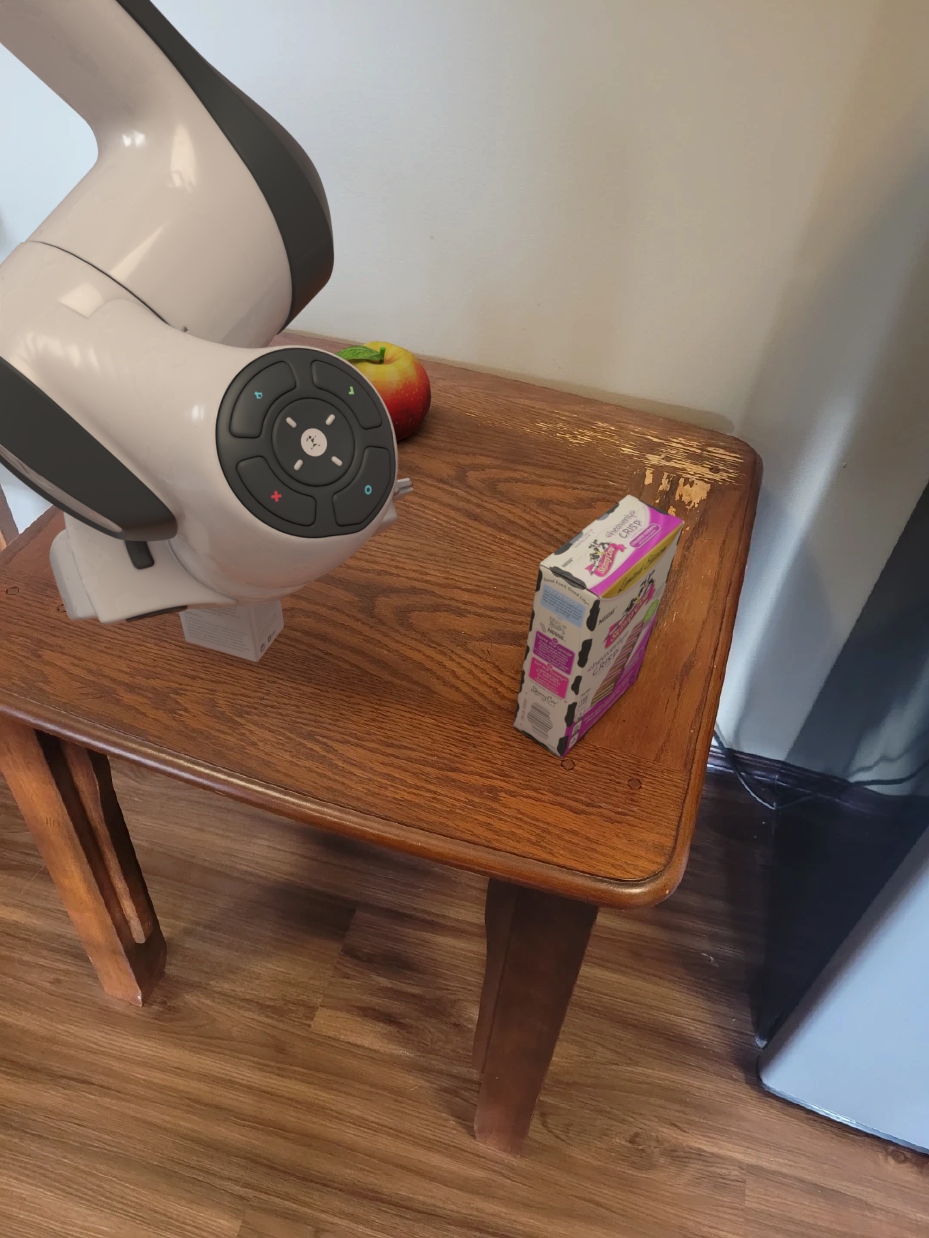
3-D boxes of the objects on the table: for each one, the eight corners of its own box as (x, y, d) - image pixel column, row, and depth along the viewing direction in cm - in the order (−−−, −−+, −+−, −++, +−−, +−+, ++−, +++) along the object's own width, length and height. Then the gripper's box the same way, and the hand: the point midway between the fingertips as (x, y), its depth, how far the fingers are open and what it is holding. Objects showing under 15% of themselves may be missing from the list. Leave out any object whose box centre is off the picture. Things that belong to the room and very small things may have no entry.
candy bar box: (564, 763, 63) (600, 598, 51) (510, 728, 65) (533, 562, 54) (642, 681, 69) (689, 518, 58) (591, 651, 71) (626, 489, 60)
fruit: (439, 451, 93) (442, 366, 86) (340, 459, 91) (335, 372, 84) (420, 402, 101) (421, 321, 94) (328, 409, 98) (323, 326, 92)
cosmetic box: (286, 626, 63) (270, 492, 55) (257, 665, 60) (236, 529, 52) (214, 605, 64) (187, 471, 56) (182, 642, 61) (150, 506, 53)
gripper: (406, 425, 49) (346, 480, 62) (28, 512, 41) (48, 554, 54) (439, 529, 50) (372, 562, 62) (69, 635, 42) (80, 648, 54)
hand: (219, 559), depth 58 cm, fingers closed on cosmetic box, 7 cm apart
